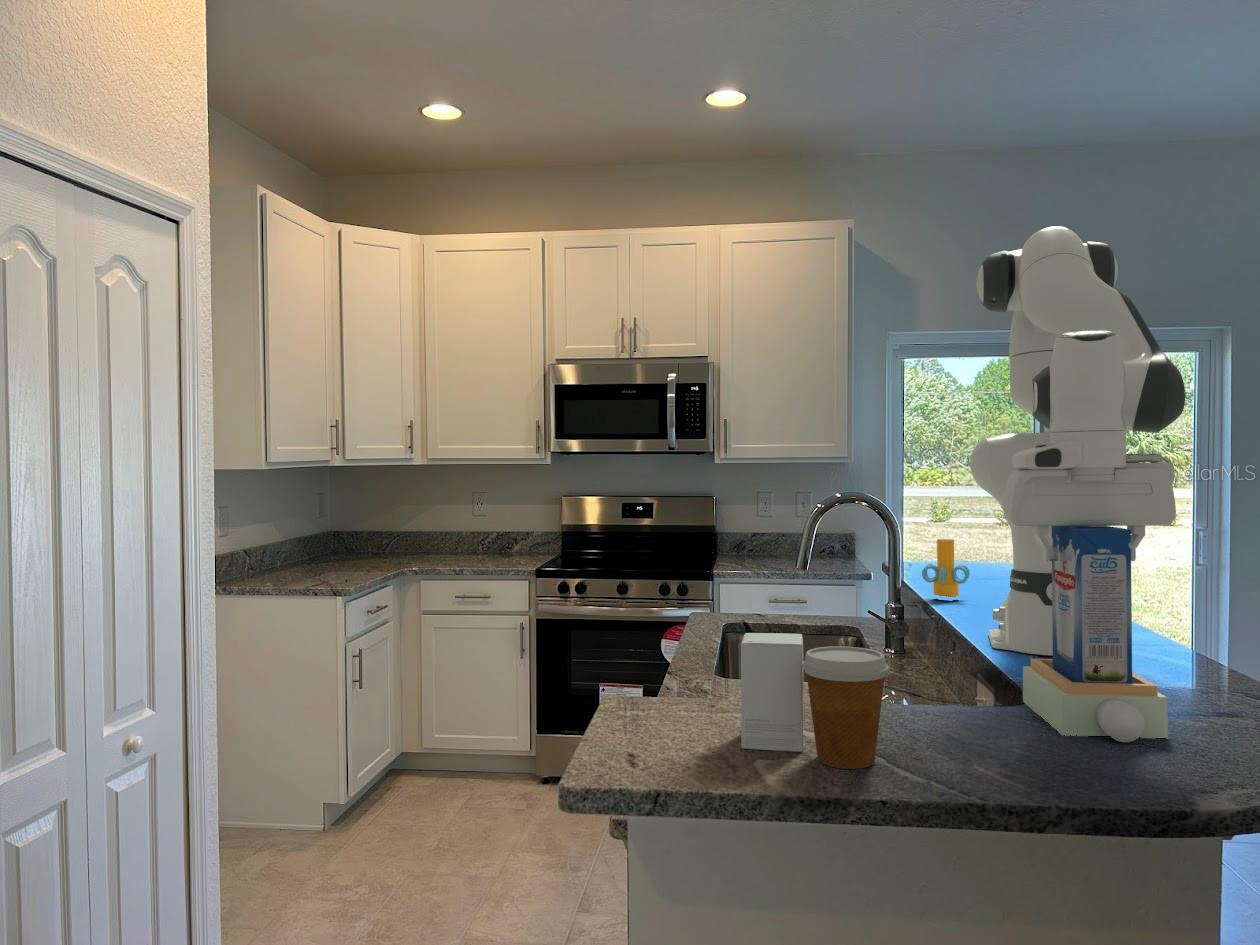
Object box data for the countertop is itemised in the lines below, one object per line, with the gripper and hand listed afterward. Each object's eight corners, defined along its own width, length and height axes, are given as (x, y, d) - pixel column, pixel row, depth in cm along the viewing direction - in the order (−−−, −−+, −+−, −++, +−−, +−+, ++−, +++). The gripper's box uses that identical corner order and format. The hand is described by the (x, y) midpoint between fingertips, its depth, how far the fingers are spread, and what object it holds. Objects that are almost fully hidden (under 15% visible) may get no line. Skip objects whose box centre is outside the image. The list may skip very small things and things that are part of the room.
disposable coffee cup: (786, 761, 100) (785, 654, 100) (830, 741, 107) (829, 642, 107) (864, 780, 94) (862, 666, 94) (904, 758, 101) (903, 652, 101)
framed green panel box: (1023, 701, 124) (1022, 657, 124) (1114, 704, 123) (1113, 659, 123) (1070, 743, 106) (1070, 691, 106) (1179, 746, 104) (1179, 693, 104)
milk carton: (1052, 671, 121) (1051, 524, 121) (1101, 672, 120) (1100, 524, 120) (1079, 690, 111) (1077, 529, 111) (1132, 691, 110) (1131, 529, 110)
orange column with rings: (931, 603, 215) (930, 541, 215) (913, 597, 226) (913, 538, 226) (979, 602, 216) (979, 540, 216) (960, 596, 227) (959, 537, 227)
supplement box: (804, 753, 103) (802, 644, 103) (739, 749, 105) (738, 642, 105) (804, 734, 110) (803, 632, 110) (744, 731, 112) (743, 631, 112)
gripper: (1162, 453, 117) (1162, 558, 117) (999, 455, 120) (1000, 557, 120) (1185, 453, 111) (1185, 563, 111) (1013, 455, 114) (1014, 563, 114)
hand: (1088, 560), depth 116 cm, fingers open, 8 cm apart
